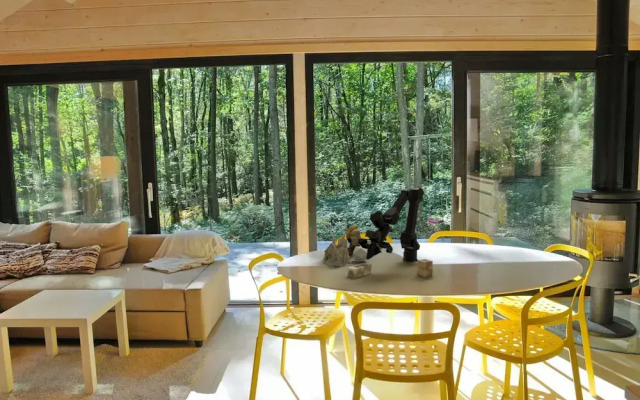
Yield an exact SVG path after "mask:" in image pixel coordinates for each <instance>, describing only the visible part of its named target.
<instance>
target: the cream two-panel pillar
mask: <svg viewBox="0 0 640 400" xmlns="http://www.w3.org/2000/svg"><path fill="white" fill-rule="evenodd" d="M372 266H373V265H372V264H370V263H365V262H362V263H359V264H355V265H352V266H348V267H347V277H348V278H352V279H356V278H361V277H362V276H363V275H364V276H366V275H367V276H368V275H370V274H372V271H373V270H372V268H373V267H372ZM364 276H363V277H364Z"/></svg>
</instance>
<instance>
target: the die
mask: <svg viewBox="0 0 640 400" xmlns="http://www.w3.org/2000/svg"><path fill="white" fill-rule="evenodd" d="M366 256H367V249H364V248H362V247H361V246H360V247H355V249H354V252H353V256H352V257H353V259H354V261H355V263H365V262H367V259H366Z"/></svg>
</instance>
